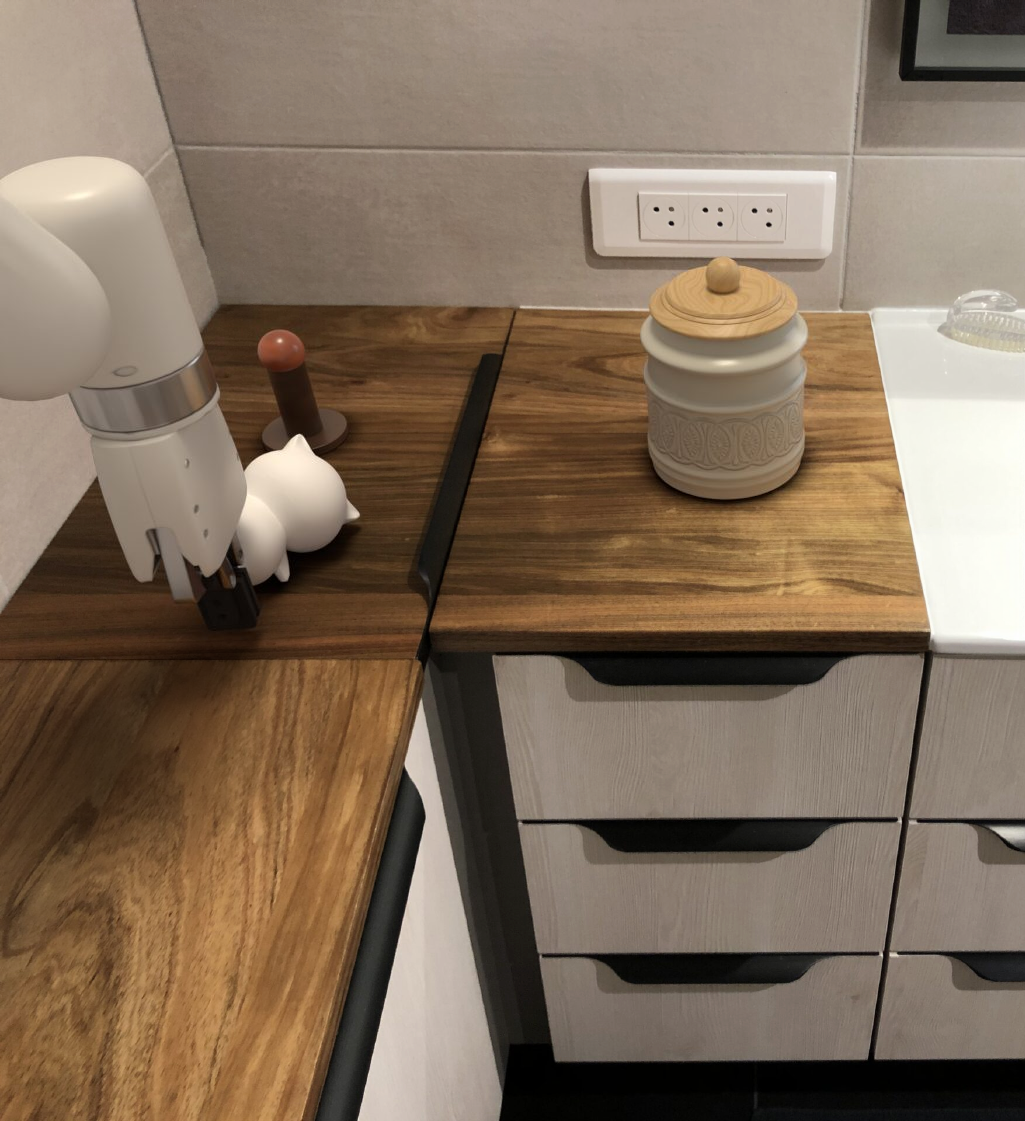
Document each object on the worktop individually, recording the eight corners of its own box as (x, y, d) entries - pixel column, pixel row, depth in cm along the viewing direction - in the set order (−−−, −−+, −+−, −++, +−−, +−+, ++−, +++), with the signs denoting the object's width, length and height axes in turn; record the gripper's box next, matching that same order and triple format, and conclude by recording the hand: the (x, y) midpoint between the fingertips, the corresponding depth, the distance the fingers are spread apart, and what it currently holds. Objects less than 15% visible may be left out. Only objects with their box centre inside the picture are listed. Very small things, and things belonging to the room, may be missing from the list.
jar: (776, 517, 88) (779, 309, 77) (624, 486, 91) (605, 283, 80) (822, 431, 97) (831, 236, 86) (683, 406, 101) (673, 215, 90)
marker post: (283, 469, 93) (248, 362, 87) (251, 434, 98) (216, 329, 91) (362, 439, 97) (334, 334, 91) (328, 407, 101) (300, 304, 95)
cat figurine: (182, 502, 74) (319, 413, 81) (127, 529, 81) (258, 444, 89) (266, 608, 77) (391, 512, 84) (206, 625, 84) (326, 535, 92)
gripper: (115, 328, 70) (205, 558, 82) (26, 461, 59) (146, 707, 70) (240, 321, 71) (312, 549, 82) (176, 451, 59) (270, 695, 71)
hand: (235, 621), depth 76 cm, fingers closed
